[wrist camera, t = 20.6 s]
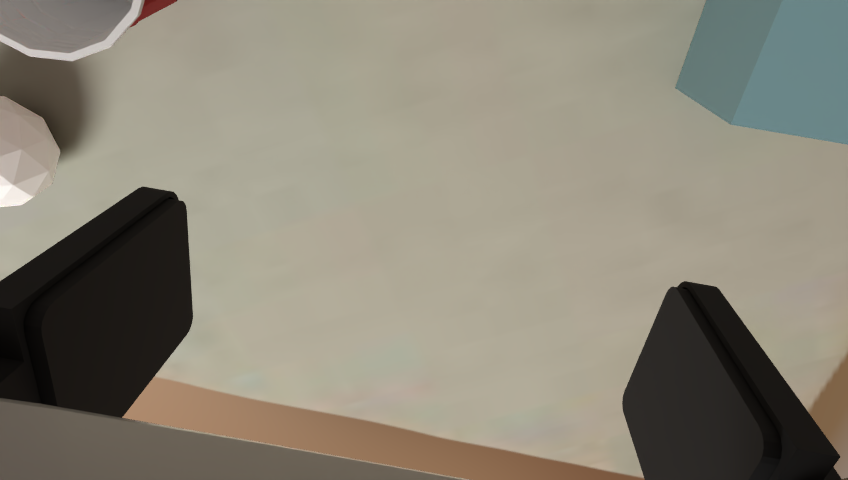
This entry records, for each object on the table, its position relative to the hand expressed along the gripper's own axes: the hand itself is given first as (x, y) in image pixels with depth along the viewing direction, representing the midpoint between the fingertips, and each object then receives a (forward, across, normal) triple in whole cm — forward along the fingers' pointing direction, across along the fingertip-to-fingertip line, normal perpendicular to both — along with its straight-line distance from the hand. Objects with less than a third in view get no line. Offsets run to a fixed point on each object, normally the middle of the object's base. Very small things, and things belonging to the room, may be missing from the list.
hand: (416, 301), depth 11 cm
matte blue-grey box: (+28, -18, -4) cm, 34 cm away
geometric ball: (+28, +31, +11) cm, 43 cm away
